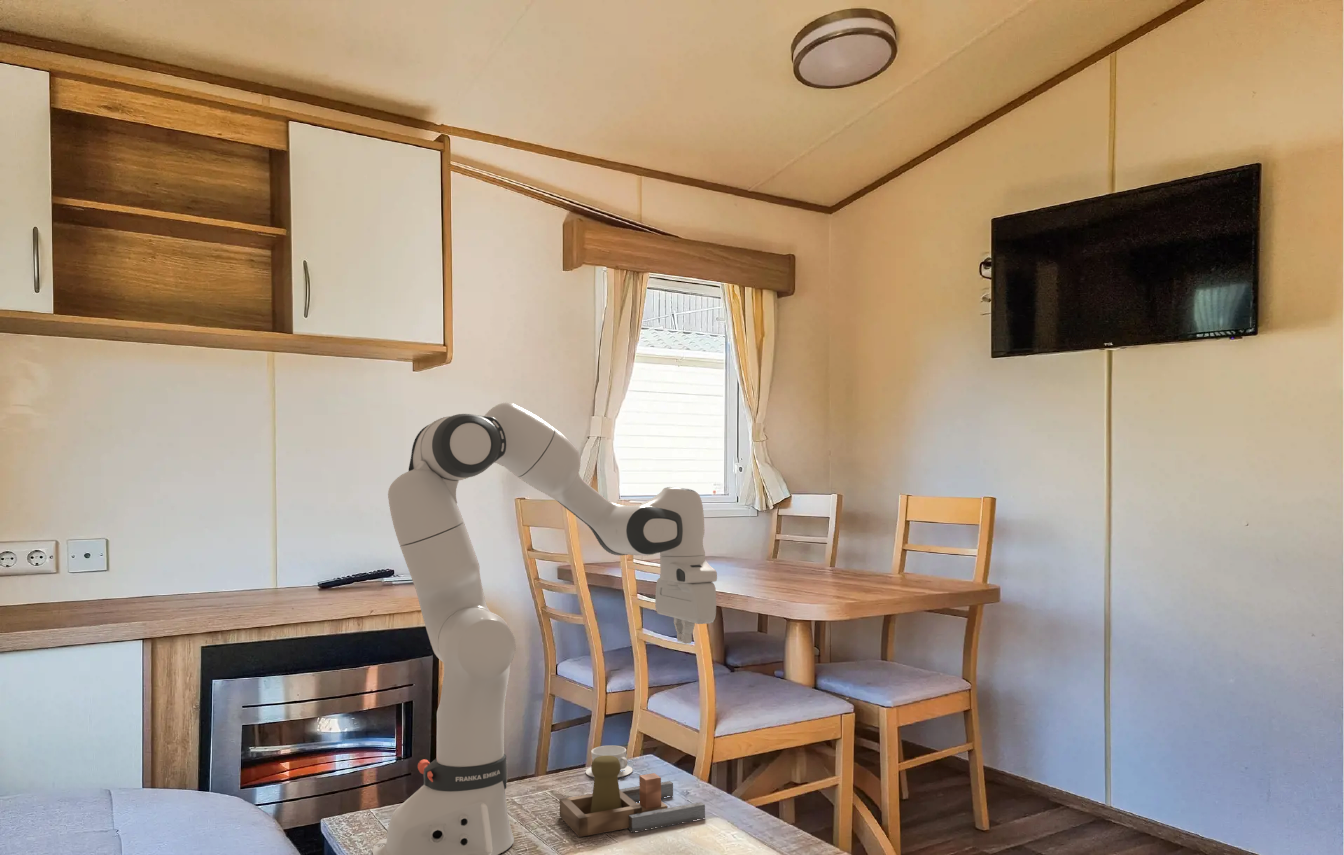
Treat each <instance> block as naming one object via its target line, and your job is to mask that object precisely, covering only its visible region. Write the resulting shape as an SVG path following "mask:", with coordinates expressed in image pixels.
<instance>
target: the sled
mask: <svg viewBox="0 0 1344 855" xmlns="http://www.w3.org/2000/svg"><path fill="white" fill-rule="evenodd" d="M638 778H639V780H638V781H639V782H638V783H639V785H638V786H640V803H636V802H634V801H633V800H632V799H631V798H629V797H628V796H627V795H626V794H624V793H623V792H622V791H620V790H619V791H620V799H621V806H622V808H618V809H612V810H607V811H601V812H595V813H591V804H592V796H593V793H588V794H584V795H583V794H582V795H576V796H570V797H564V798H559V817H560V818H561V819H562V820H563V822H564V823H565V824H566V825H567V826H568V827H569V828H570V829H571V830H572V831H573V832H574V833H575V834H576V835H577V836H578V837H579V838H581V837H586V836H592V835H597V834H603V833H607V832H609V833H610V832H613V831H619V830H624V829H629V815H632V814H638V813H643V812H649V811H655V810H660V809H666V808H669V807H668V805H667V804H665V803H664V802H663V801H662V799H661V782H662V777H661V776H659V775H658V774H656V773H655V772H654V773H647V774H640V775H639V776H638Z"/></svg>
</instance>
